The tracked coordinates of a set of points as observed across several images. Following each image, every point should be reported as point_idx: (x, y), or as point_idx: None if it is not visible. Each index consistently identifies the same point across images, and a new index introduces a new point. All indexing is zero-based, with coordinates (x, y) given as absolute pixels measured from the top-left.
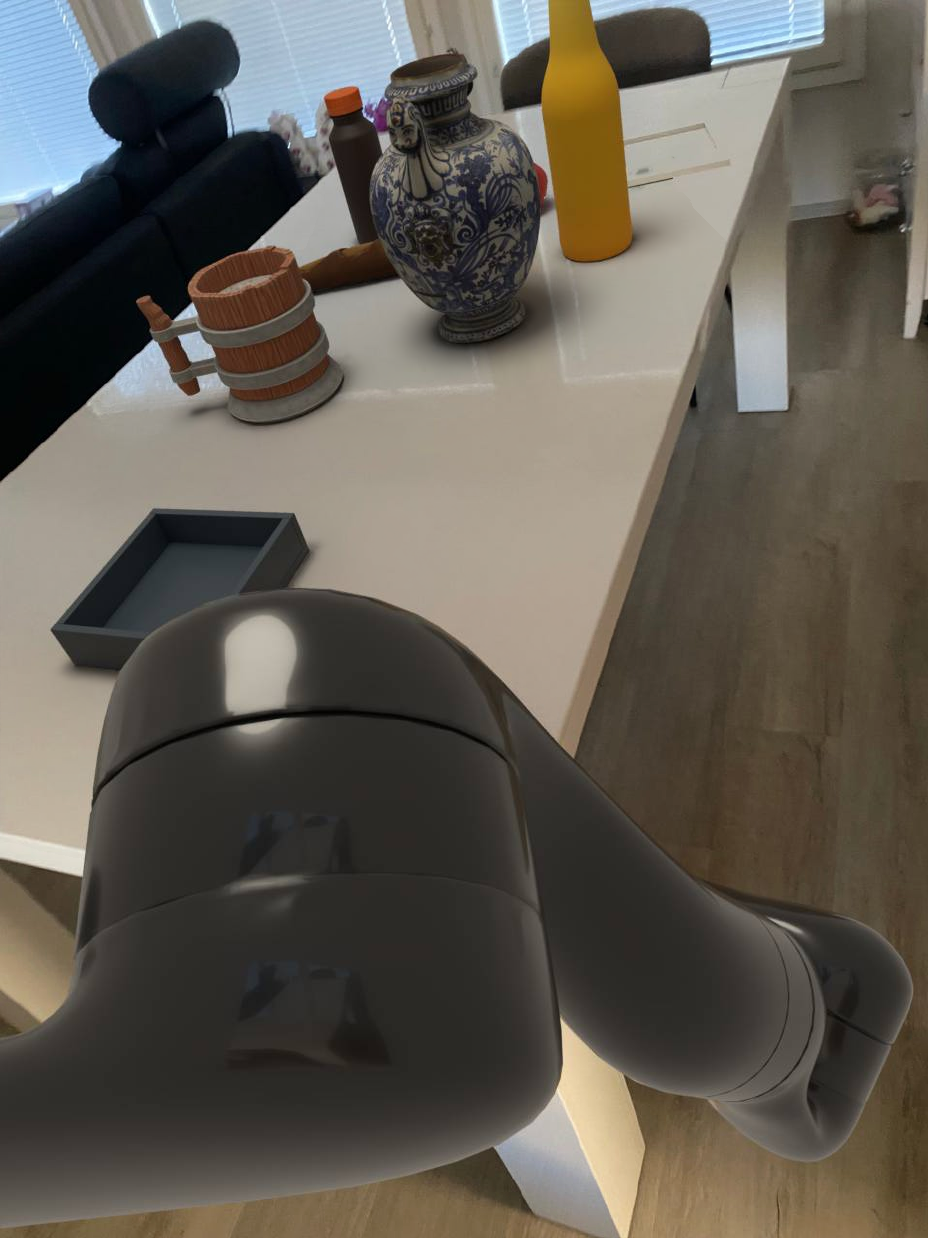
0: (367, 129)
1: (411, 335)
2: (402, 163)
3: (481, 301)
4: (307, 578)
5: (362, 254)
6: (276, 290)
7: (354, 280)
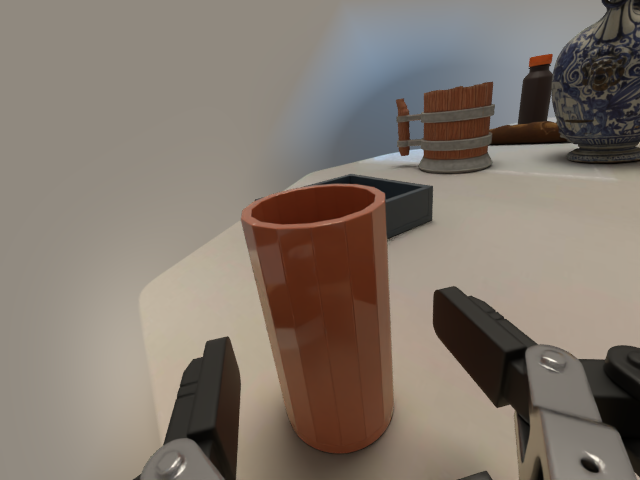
0: (549, 74)
1: (543, 158)
2: (600, 22)
3: (620, 130)
4: (422, 232)
5: (522, 127)
6: (475, 92)
7: (511, 141)
